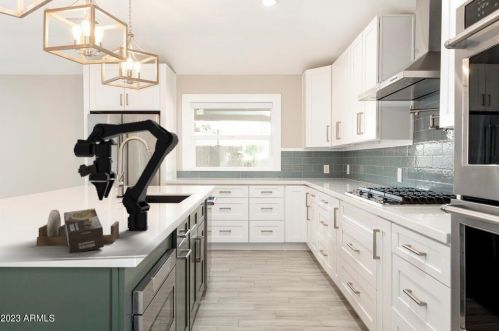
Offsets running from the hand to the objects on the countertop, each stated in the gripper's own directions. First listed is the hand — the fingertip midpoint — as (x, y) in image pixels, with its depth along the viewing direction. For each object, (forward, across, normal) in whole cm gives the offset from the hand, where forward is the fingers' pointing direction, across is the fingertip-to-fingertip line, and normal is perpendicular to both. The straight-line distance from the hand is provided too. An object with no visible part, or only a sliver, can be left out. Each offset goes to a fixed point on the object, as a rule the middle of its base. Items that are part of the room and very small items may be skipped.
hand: (103, 199), depth 135 cm
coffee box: (+4, +22, -2) cm, 22 cm away
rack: (+11, +20, 0) cm, 23 cm away
